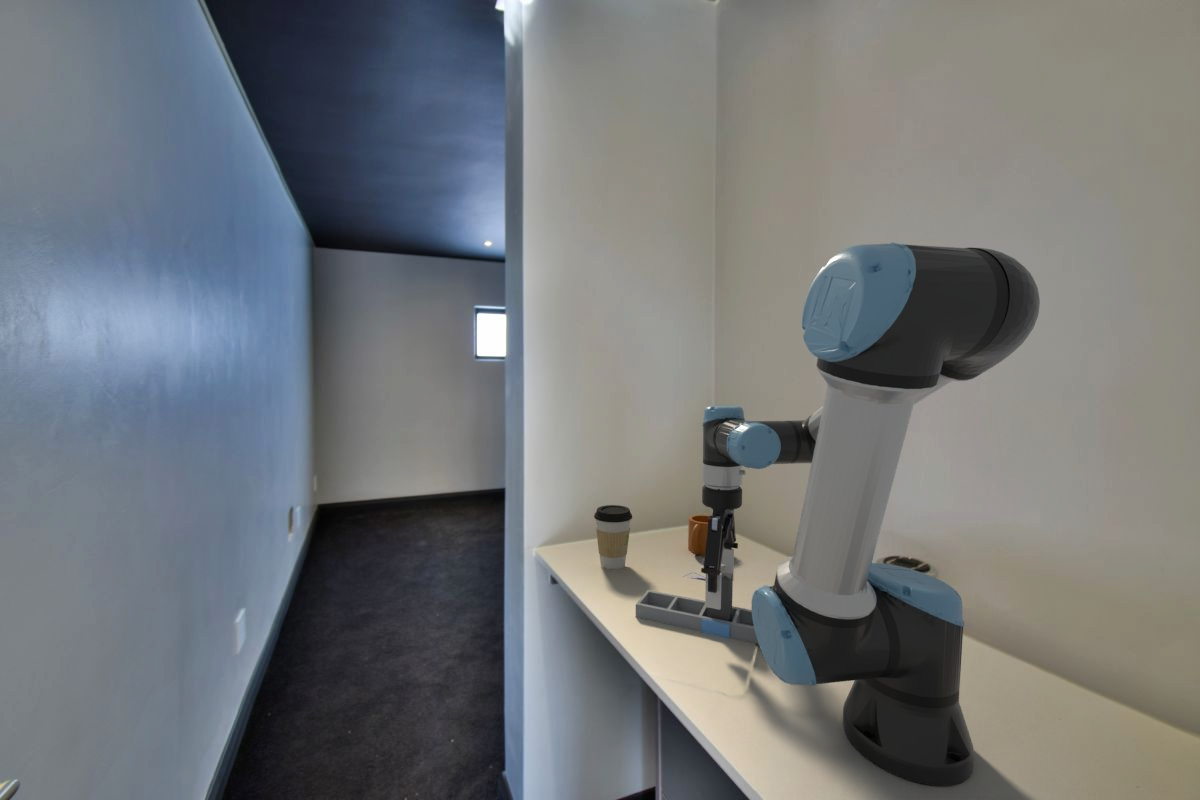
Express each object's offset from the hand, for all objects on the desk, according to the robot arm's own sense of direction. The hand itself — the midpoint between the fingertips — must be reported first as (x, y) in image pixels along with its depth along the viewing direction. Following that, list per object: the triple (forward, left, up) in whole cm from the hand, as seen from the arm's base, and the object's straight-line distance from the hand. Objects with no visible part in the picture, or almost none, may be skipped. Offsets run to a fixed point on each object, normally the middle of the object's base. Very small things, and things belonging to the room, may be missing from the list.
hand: (720, 592), depth 98 cm
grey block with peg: (0, 0, -7) cm, 7 cm away
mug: (+41, +13, -7) cm, 44 cm away
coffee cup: (+20, +31, -7) cm, 38 cm away
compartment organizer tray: (0, +3, -7) cm, 8 cm away
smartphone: (+16, +11, -8) cm, 21 cm away
